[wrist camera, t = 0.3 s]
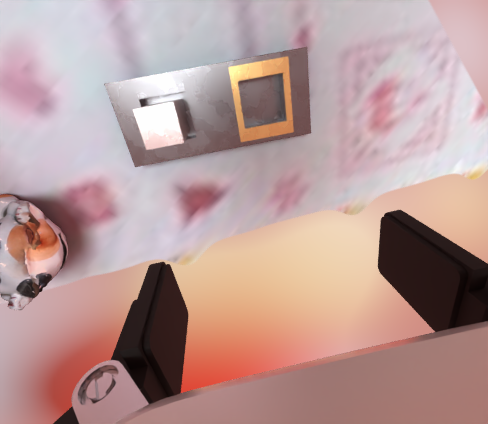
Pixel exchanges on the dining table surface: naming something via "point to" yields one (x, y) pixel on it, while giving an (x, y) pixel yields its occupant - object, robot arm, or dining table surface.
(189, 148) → the hole rail
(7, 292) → the lucky cat figurine
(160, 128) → the steel peg
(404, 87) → the dining table surface
